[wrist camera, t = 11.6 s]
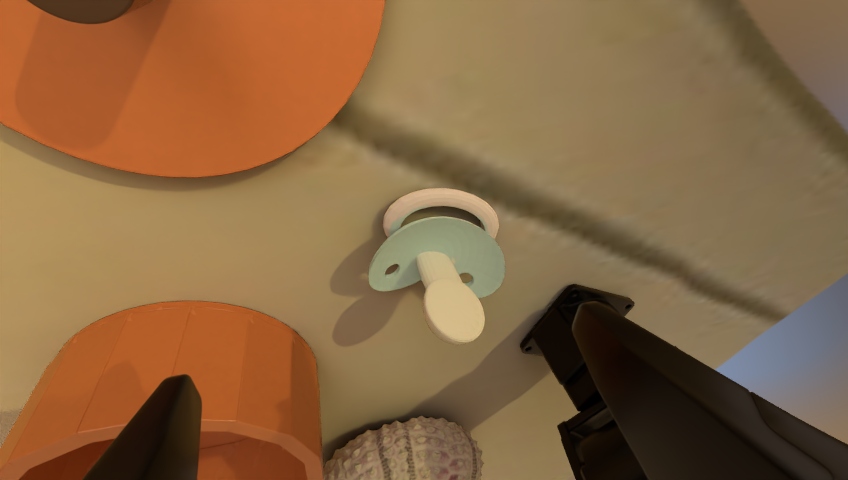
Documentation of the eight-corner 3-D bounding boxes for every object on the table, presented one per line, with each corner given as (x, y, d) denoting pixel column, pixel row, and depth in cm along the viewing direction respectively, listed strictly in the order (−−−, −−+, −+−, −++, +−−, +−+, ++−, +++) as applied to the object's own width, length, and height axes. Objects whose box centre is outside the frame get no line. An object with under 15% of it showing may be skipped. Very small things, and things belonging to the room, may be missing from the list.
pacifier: (386, 168, 19) (353, 269, 22) (421, 245, 14) (372, 363, 17) (515, 197, 22) (471, 283, 25) (581, 270, 17) (516, 367, 20)
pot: (348, 321, 24) (362, 424, 19) (283, 447, 30) (281, 551, 25) (54, 278, 18) (-40, 413, 13) (48, 447, 24) (-18, 584, 19)
